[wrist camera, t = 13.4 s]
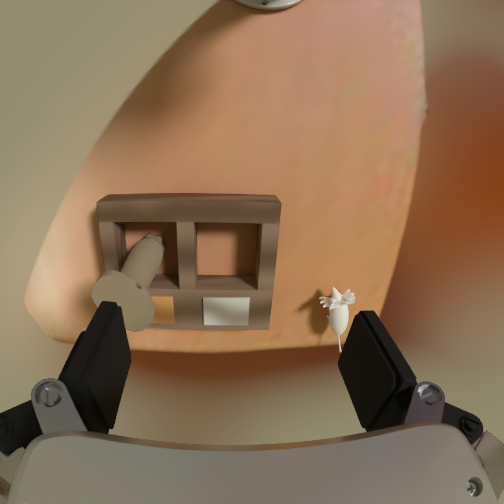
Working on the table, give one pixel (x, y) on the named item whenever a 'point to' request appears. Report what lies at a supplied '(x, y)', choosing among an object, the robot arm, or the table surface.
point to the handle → (133, 283)
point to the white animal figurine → (338, 310)
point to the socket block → (188, 281)
